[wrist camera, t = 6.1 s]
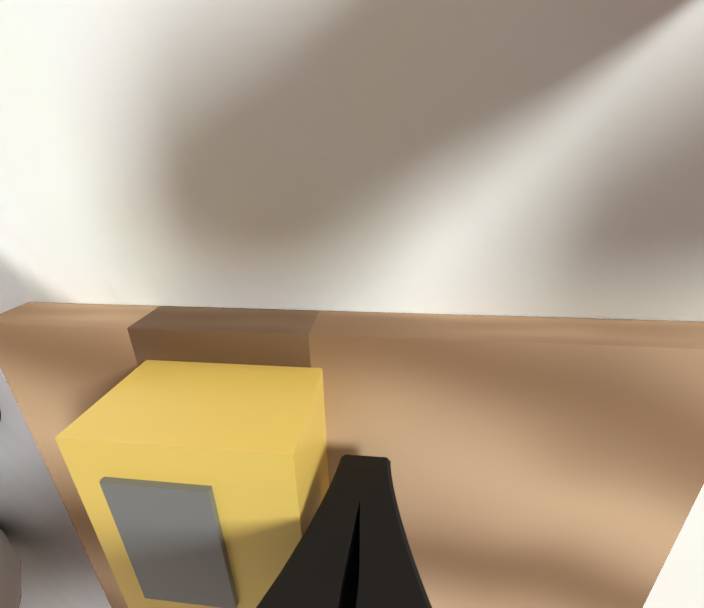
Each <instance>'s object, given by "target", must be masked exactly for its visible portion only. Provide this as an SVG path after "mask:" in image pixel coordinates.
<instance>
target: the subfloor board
mask: <svg viewBox="0 0 704 608" xmlns="http://www.w3.org/2000/svg"><path fill="white" fill-rule="evenodd" d="M146 360H159V361H180V362H201V363H223V364H244V365H265V366H286V367H307V368H322V371H323V388H324V405H325V423H326V440H327V457H328V475H329V486H330V484H331V482H332V479H333V477H334V475H335V472H336V470H337V467H338V465H339V462H340V459H341V457H342V456H344V455H345V454H347V455H361V456H375V457H387V458H388V459H389V460H390V461H391V474H392V481H393V487H394V492H395V496H396V500H397V505H398V509H399V512H400V516H401V520H402V523H403V526H404V530H405V533H406V536H407V540H408V543H409V546H410V549H411V552H412V555H413V558H414V561H415V564H416V566H417V569H418V572H419V575H420V578H421V580H422V583H423V586H424V588H425V591H426V594H427V596H428V599H429V601H430V604H431V606H432V608H642V607H643V605H644V603H645V601H646V599H647V597H648V595H649V593H650V591H651V589H652V587H653V585H654V583H655V581H656V579H657V577H658V575H659V573H660V571H661V569H662V567H663V565H664V563H665V561H666V559H667V557H668V555H669V553H670V551H671V549H672V547H673V545H674V542H675V540H676V538H677V536H678V534H679V532H680V530H681V528H682V526H683V524H684V522H685V520H686V518H687V516H688V514H689V512H690V510H691V508H692V506H693V504H694V502H695V500H696V498H697V496H698V494H699V492H700V490H701V488H702V486H703V484H704V322H687V321H653V320H619V319H585V318H551V317H516V316H482V315H448V314H414V313H380V312H346V311H311V310H277V309H243V308H209V307H175V306H141V305H106V304H72V303H38V302H28V303H26V304H23V305H21V306H18V307H16V308H14V309H11V310H9V311H6V312H4V313H2V314H0V367H1V369H2V372H3V374H4V376H5V378H6V380H7V382H8V384H9V387H10V389H11V391H12V393H13V395H14V397H15V400H16V402H17V404H18V406H19V408H20V410H21V413H22V415H23V417H24V419H25V421H26V423H27V426H28V428H29V430H30V432H31V434H32V436H33V439H34V441H35V443H36V445H37V447H38V449H39V451H40V454H41V456H42V458H43V460H44V462H45V464H46V467H47V469H48V471H49V473H50V475H51V477H52V480H53V482H54V484H55V486H56V488H57V490H58V493H59V495H60V497H61V499H62V501H63V503H64V506H65V508H66V510H67V512H68V514H69V516H70V519H71V521H72V523H73V525H74V527H75V529H76V531H77V534H78V536H79V538H80V540H81V542H82V544H83V547H84V549H85V551H86V553H87V555H88V557H89V560H90V562H91V564H92V566H93V568H94V570H95V573H96V575H97V577H98V579H99V581H100V583H101V586H102V588H103V590H104V592H105V594H106V596H107V599H108V601H109V603H110V605H111V607H112V608H128V606H127V604H126V602H125V599H124V597H123V595H122V592H121V590H120V588H119V585H118V583H117V581H116V579H115V576H114V574H113V572H112V569H111V567H110V565H109V562H108V560H107V558H106V555H105V553H104V551H103V548H102V546H101V544H100V541H99V539H98V537H97V535H96V532H95V530H94V528H93V525H92V523H91V521H90V518H89V516H88V514H87V511H86V509H85V507H84V504H83V502H82V500H81V498H80V495H79V493H78V491H77V488H76V486H75V484H74V481H73V479H72V477H71V474H70V472H69V470H68V467H67V465H66V463H65V461H64V458H63V456H62V454H61V451H60V449H59V447H58V444H57V442H56V440H55V437H56V436H57V435H58V434H60V433H61V432H62V431H63V430H64V429H65V428H67V427H68V426H69V425H70V424H71V423H72V422H74V421H75V420H76V419H77V418H78V417H80V416H81V415H82V414H83V413H84V412H85V411H87V410H88V409H89V408H90V407H91V406H93V405H94V404H95V403H96V402H97V401H98V400H100V399H101V398H102V397H103V396H104V395H106V394H107V393H108V392H109V391H110V390H111V389H113V388H114V387H115V386H116V385H117V384H118V383H120V382H121V381H122V380H123V379H124V378H126V377H127V376H128V375H129V374H130V373H131V372H133V371H134V370H135V369H136V368H137V367H139V366H140V365H141V364H142V363H143V362H144V361H146Z"/></svg>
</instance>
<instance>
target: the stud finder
mask: <svg viewBox="0 0 704 608" xmlns="http://www.w3.org/2000/svg"><path fill="white" fill-rule="evenodd" d="M55 440H56V442H57V444H58V447H59V449H60V451H61V454H62V456H63V458H64V461H65V463H66V465H67V467H68V470H69V472H70V474H71V477H72V479H73V481H74V484H75V486H76V488H77V491H78V493H79V495H80V498H81V500H82V502H83V504H84V507H85V509H86V511H87V514H88V516H89V518H90V521H91V523H92V525H93V528H94V530H95V532H96V535H97V537H98V539H99V541H100V544H101V546H102V548H103V551H104V553H105V555H106V558H107V560H108V562H109V565H110V567H111V569H112V572H113V574H114V576H115V579H116V581H117V583H118V585H119V588H120V590H121V592H122V595H123V597H124V599H125V602H126V604H127V606H128V608H256V607H257V605H258V604H259V603H260V601H261V600H262V598H263V597H264V596H265V594H266V593H267V591H268V590H269V588H270V587H271V585H272V584H273V583H274V581H275V580H276V578H277V577H278V575H279V574H280V572H281V570H282V569H283V567H284V566H285V564H286V563H287V561H288V559H289V558H290V556H291V555H292V553H293V551H294V550H295V548H296V546H297V545H298V543H299V541H300V540H301V538H302V537H303V535H304V533H305V532H306V530H307V528H308V526H309V524H310V523H311V521H312V519H313V517H314V515H315V513H316V511H317V510H318V508H319V506H320V504H321V502H322V500H323V498H324V496H325V494H326V492H327V490H328V488H329V475H328V457H327V440H326V423H325V405H324V388H323V371H322V368H307V367H286V366H265V365H244V364H223V363H201V362H180V361H159V360H146V361H144V362H143V363H142V364H141V365H140V366H139V367H137V368H136V369H135V370H134V371H133V372H131V373H130V374H129V375H128V376H127V377H126V378H124V379H123V380H122V381H121V382H120V383H118V384H117V385H116V386H115V387H114V388H113V389H111V390H110V391H109V392H108V393H107V394H106V395H104V396H103V397H102V398H101V399H100V400H98V401H97V402H96V403H95V404H94V405H93V406H91V407H90V408H89V409H88V410H87V411H85V412H84V413H83V414H82V415H81V416H80V417H78V418H77V419H76V420H75V421H74V422H72V423H71V424H70V425H69V426H68V427H67V428H65V429H64V430H63V431H62V432H61V433H60V434H58V435H57V436H56V437H55Z"/></svg>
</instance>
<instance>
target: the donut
mask: <svg viewBox="0 0 704 608" xmlns="http://www.w3.org/2000/svg"><path fill="white" fill-rule="evenodd" d="M20 601H21V561H20V560H19V558H18V556H17V554H16V553H15V551H14V549H13V548H12V546H11V544H10V542H9V541H8V539H7V537H6V536H5V534H4V533H3V531H2V530H0V608H19V605H20Z"/></svg>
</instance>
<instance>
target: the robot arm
mask: <svg viewBox="0 0 704 608" xmlns="http://www.w3.org/2000/svg"><path fill="white" fill-rule="evenodd" d="M256 608H432V606H431V604H430V601H429V599H428V596H427V594H426V591H425V588H424V586H423V583H422V580H421V578H420V575H419V572H418V569H417V566H416V564H415V561H414V558H413V555H412V552H411V549H410V546H409V543H408V540H407V536H406V533H405V530H404V526H403V523H402V520H401V516H400V512H399V509H398V505H397V500H396V496H395V492H394V487H393V481H392V474H391V461H390V460H389V459H388V458H387V457H375V456H361V455H347V454H345V455H344V456H342V457H341V459H340V462H339V465H338V467H337V470H336V472H335V475H334V477H333V479H332V482H331V484H330V486H329V488H328V490H327V492H326V494H325V496H324V498H323V500H322V502H321V504H320V506H319V508H318V510H317V511H316V513H315V515H314V517H313V519H312V521H311V523H310V524H309V526H308V528H307V530H306V532H305V533H304V535H303V537H302V538H301V540H300V541H299V543H298V545H297V546H296V548H295V550H294V551H293V553H292V555H291V556H290V558H289V559H288V561H287V563H286V564H285V566H284V567H283V569H282V570H281V572H280V574H279V575H278V577H277V578H276V580H275V581H274V583H273V584H272V585H271V587H270V588H269V590H268V591H267V593H266V594H265V596H264V597H263V598H262V600H261V601H260V603H259V604H258V605H257V607H256Z"/></svg>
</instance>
